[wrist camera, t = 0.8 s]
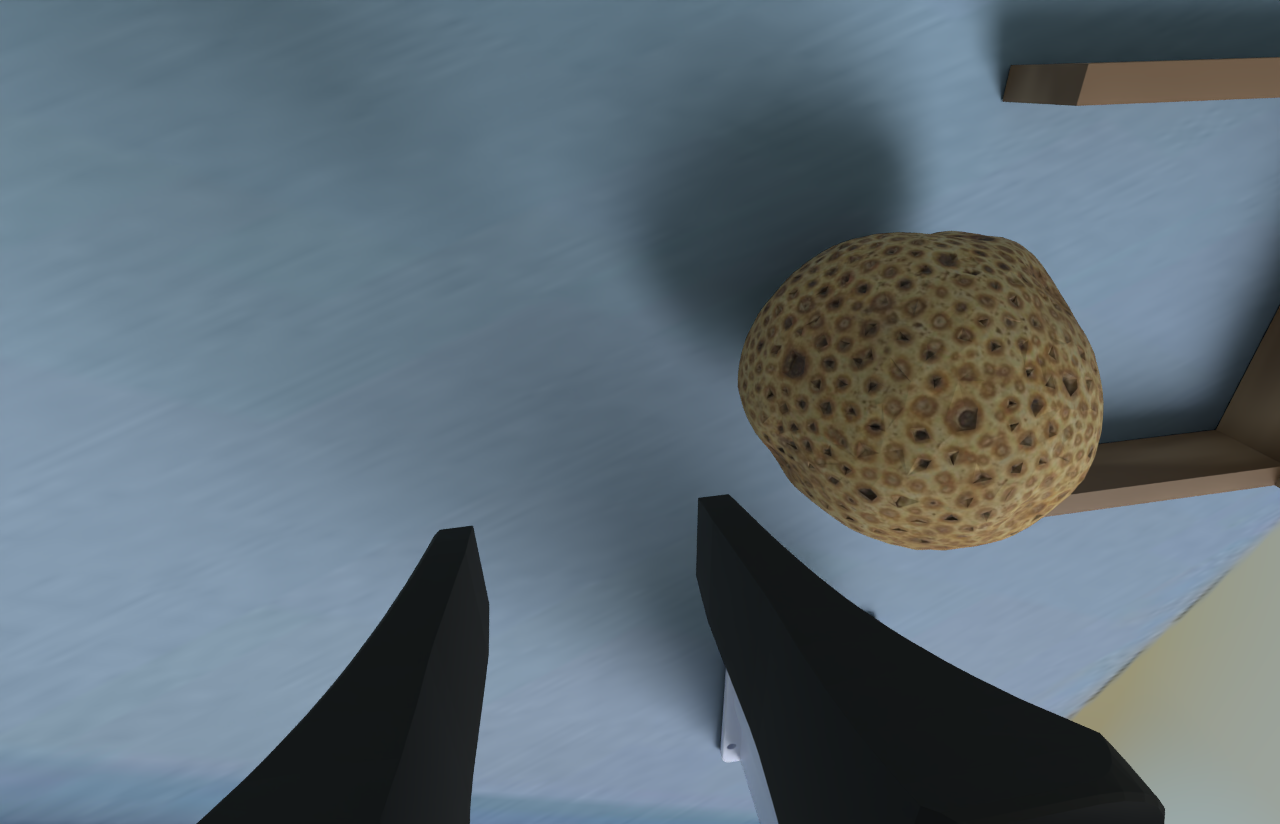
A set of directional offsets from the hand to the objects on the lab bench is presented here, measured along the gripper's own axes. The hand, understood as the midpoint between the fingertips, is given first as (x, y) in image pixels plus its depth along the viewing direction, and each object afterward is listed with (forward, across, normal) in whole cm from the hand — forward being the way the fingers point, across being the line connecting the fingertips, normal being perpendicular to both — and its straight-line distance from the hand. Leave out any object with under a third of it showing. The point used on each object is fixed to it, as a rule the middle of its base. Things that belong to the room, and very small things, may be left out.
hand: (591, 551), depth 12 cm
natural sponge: (+11, -10, 0) cm, 14 cm away
